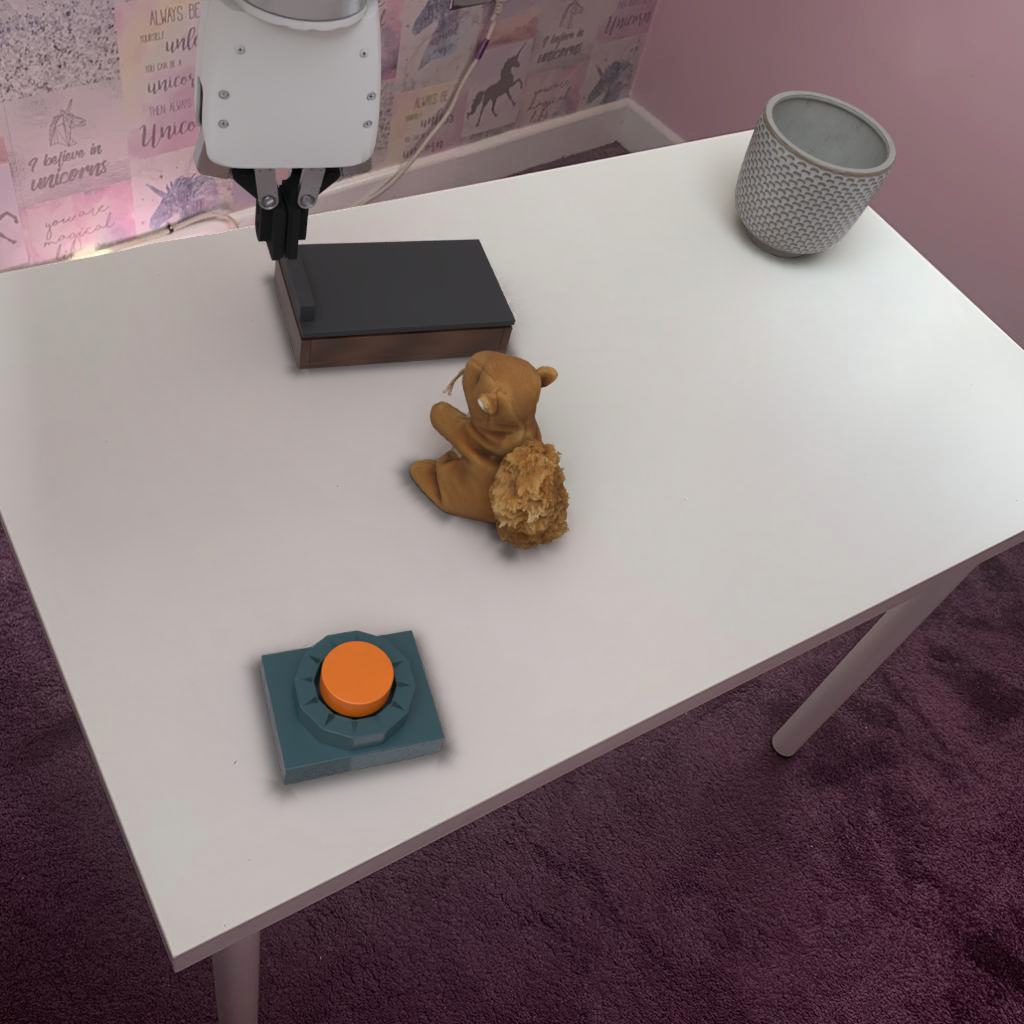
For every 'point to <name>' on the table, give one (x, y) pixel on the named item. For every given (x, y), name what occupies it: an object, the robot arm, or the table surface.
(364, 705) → the button
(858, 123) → the planter
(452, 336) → the wooden box
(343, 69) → the robot arm
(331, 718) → the dark teal square block
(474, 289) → the lid
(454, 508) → the stuffed squirrel
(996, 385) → the table surface
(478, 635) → the table surface
